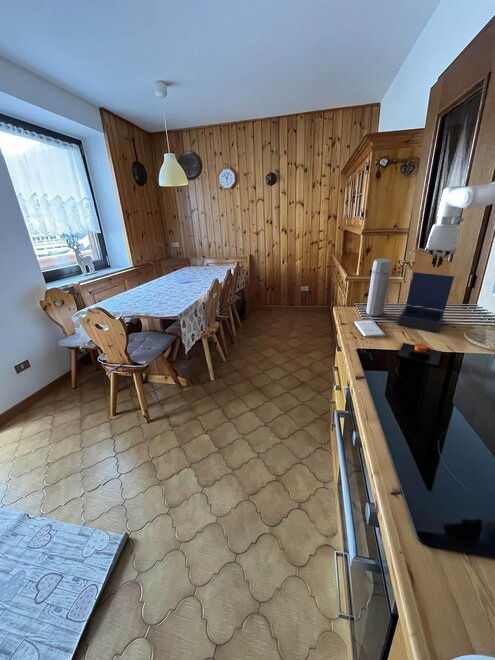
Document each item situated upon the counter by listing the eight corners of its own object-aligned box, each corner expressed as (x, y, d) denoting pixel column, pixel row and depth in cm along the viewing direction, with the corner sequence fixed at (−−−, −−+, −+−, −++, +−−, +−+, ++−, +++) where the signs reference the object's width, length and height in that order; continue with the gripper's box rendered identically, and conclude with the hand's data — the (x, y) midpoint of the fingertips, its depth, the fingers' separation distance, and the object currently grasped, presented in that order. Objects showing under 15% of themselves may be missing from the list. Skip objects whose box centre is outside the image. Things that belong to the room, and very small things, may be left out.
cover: (454, 276, 114) (454, 276, 114) (413, 272, 122) (413, 272, 122) (444, 310, 119) (444, 310, 120) (406, 304, 127) (406, 303, 128)
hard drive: (373, 323, 123) (385, 337, 112) (354, 324, 123) (364, 338, 112) (373, 320, 122) (385, 333, 111) (354, 321, 122) (364, 334, 111)
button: (427, 349, 98) (428, 345, 97) (425, 354, 95) (426, 349, 94) (415, 346, 100) (416, 342, 99) (413, 351, 97) (414, 346, 96)
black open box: (437, 333, 112) (440, 323, 110) (397, 325, 120) (399, 315, 118) (441, 320, 122) (444, 311, 120) (404, 313, 130) (406, 305, 128)
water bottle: (361, 313, 133) (369, 260, 122) (373, 309, 136) (381, 257, 125) (378, 319, 126) (387, 264, 114) (390, 315, 129) (400, 261, 117)
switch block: (440, 354, 99) (442, 347, 97) (437, 368, 92) (439, 361, 90) (402, 345, 105) (404, 338, 104) (396, 358, 98) (398, 351, 97)
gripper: (471, 219, 111) (458, 266, 119) (426, 219, 120) (417, 262, 128) (470, 222, 106) (457, 270, 114) (423, 221, 114) (414, 266, 123)
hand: (436, 266), depth 121 cm, fingers closed
